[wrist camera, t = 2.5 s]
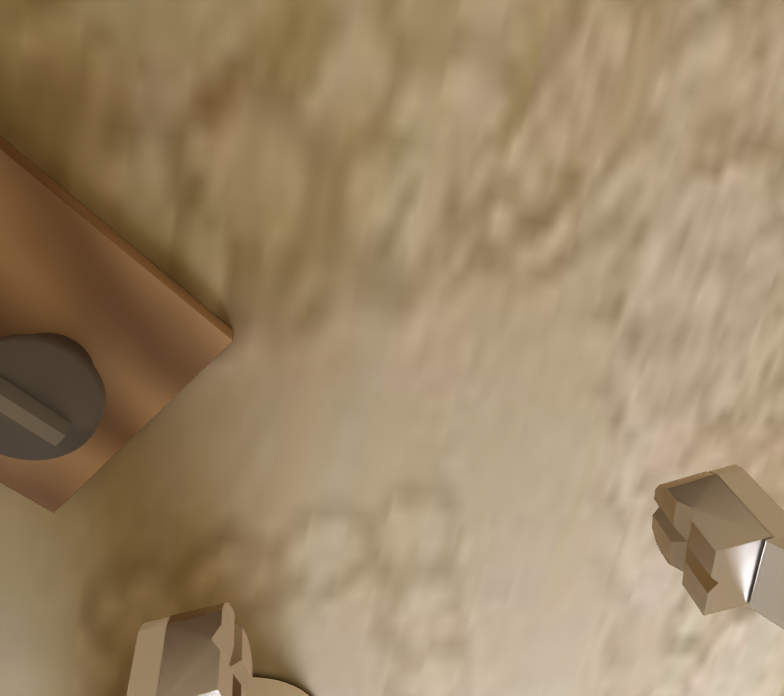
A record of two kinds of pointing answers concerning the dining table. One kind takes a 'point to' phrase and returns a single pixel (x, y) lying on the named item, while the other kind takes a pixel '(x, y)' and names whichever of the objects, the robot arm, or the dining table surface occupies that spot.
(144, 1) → the dining table surface
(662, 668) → the dining table surface
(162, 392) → the walnut board
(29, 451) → the control knob
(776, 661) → the dining table surface
